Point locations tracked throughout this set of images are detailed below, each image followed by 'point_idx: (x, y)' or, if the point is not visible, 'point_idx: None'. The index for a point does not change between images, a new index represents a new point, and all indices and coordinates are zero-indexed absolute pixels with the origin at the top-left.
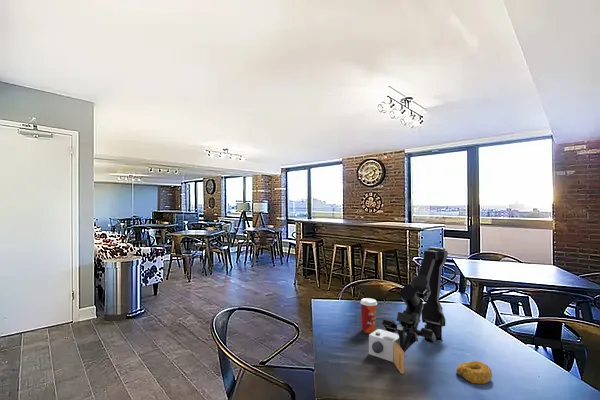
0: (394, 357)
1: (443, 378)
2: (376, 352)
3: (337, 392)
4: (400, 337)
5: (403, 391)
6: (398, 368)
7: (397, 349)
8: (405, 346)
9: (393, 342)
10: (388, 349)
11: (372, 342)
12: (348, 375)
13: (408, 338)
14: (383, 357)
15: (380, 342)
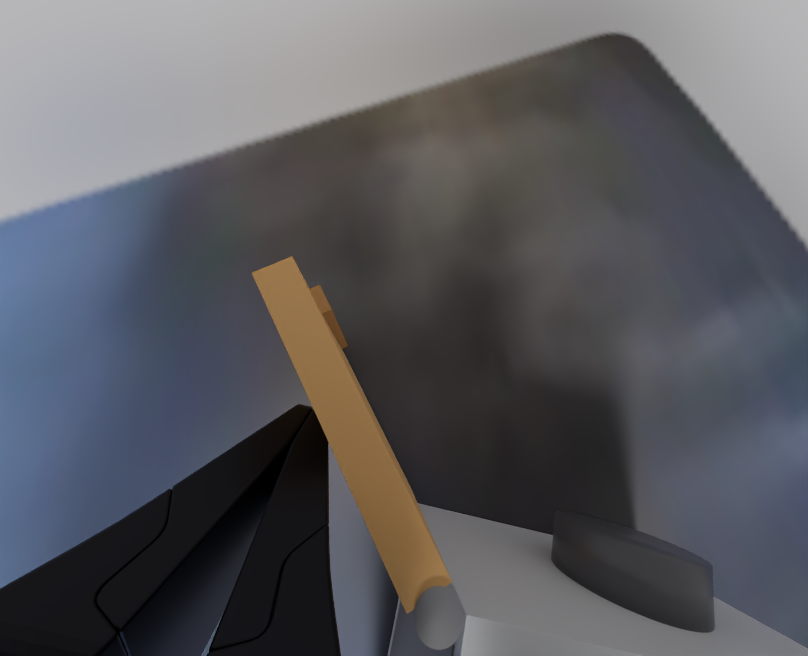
0: (407, 482)
1: (4, 412)
2: (590, 516)
3: (581, 53)
4: (298, 641)
5: (300, 151)
6: (356, 378)
7: (364, 401)
8: (226, 454)
9: (463, 608)
10: (496, 557)
11: (732, 622)
12: (610, 190)
13: (8, 634)
14: (509, 527)
15: (647, 616)
